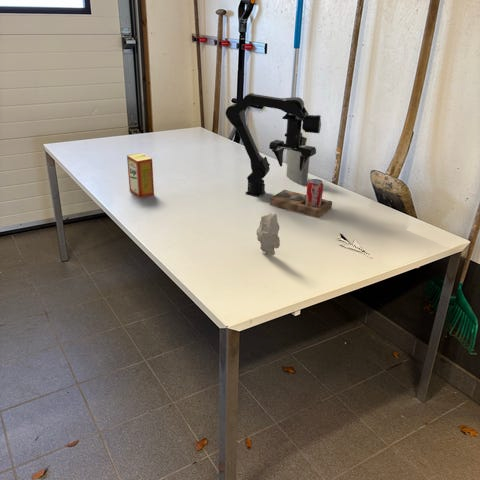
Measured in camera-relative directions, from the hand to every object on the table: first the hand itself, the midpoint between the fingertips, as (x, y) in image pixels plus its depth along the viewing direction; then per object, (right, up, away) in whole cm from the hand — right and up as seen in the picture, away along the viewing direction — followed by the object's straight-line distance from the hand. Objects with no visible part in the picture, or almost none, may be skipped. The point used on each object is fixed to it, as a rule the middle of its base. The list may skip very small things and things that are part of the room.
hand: (290, 168), depth 198 cm
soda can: (+8, -17, -4) cm, 20 cm away
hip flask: (+5, -2, +26) cm, 27 cm away
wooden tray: (+4, -16, -2) cm, 16 cm away
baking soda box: (-63, -10, +7) cm, 64 cm away
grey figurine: (-12, -34, -40) cm, 54 cm away
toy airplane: (+17, -32, -32) cm, 48 cm away
